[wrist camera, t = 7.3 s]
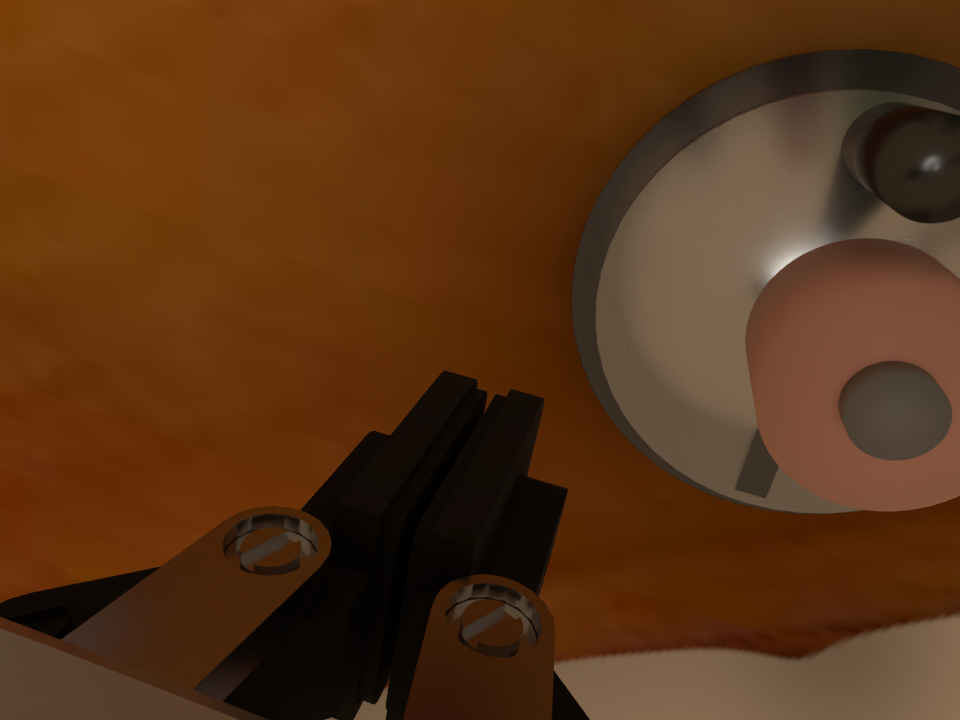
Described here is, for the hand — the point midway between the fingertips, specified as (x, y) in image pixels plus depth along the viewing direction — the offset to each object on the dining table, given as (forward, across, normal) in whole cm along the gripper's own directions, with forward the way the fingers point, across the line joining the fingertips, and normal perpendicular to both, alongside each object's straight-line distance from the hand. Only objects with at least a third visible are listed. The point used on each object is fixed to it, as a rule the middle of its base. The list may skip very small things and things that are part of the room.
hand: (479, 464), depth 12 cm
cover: (+12, -8, 0) cm, 15 cm away
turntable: (+14, -7, 0) cm, 15 cm away
